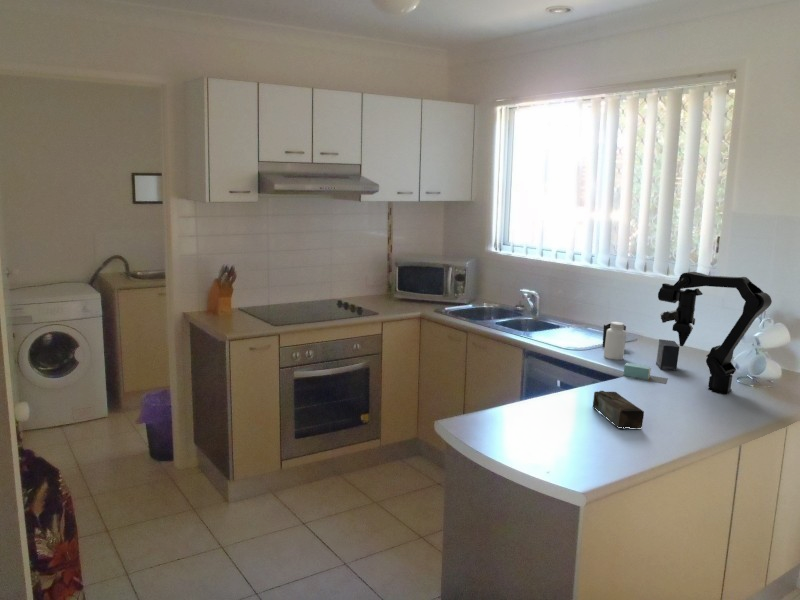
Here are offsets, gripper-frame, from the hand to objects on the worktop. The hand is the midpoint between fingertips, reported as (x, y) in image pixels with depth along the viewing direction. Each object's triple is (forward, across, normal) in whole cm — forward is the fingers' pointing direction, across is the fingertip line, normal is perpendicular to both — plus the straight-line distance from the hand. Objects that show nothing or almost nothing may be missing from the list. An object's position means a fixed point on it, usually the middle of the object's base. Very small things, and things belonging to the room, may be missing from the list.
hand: (681, 346), depth 250 cm
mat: (+13, +7, -8) cm, 17 cm away
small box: (+13, -14, -6) cm, 20 cm away
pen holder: (+13, -34, -30) cm, 48 cm away
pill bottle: (+13, -16, -27) cm, 34 cm away
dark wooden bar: (+13, +57, -12) cm, 60 cm away
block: (+11, +7, -9) cm, 16 cm away
